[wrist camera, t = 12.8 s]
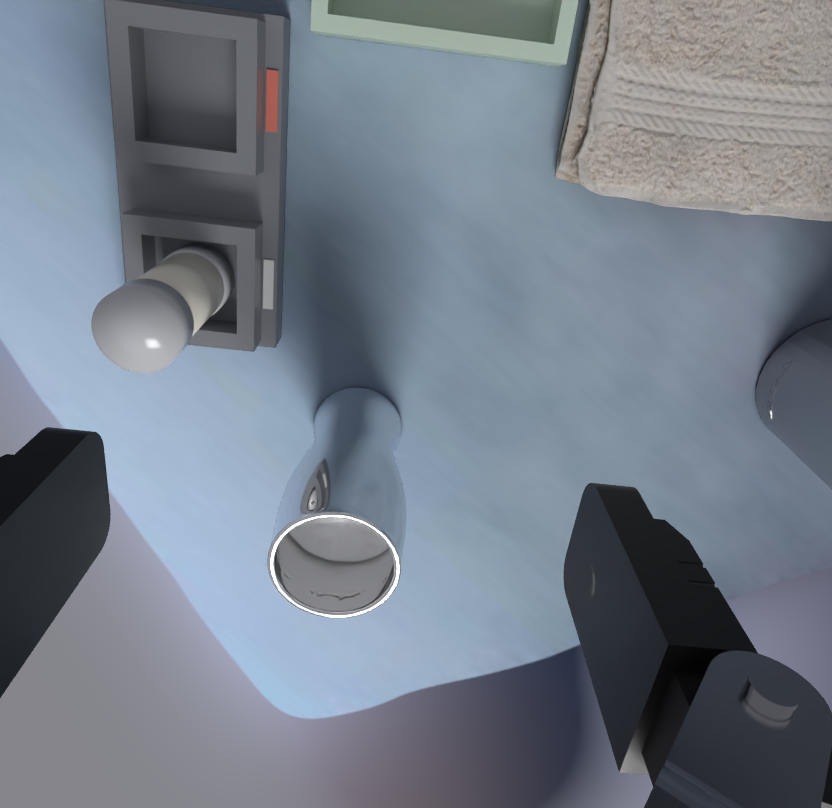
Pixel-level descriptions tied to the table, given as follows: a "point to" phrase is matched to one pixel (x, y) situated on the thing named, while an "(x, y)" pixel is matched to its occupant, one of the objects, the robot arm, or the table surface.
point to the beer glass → (343, 511)
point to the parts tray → (456, 26)
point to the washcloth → (704, 105)
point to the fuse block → (204, 149)
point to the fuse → (162, 308)
